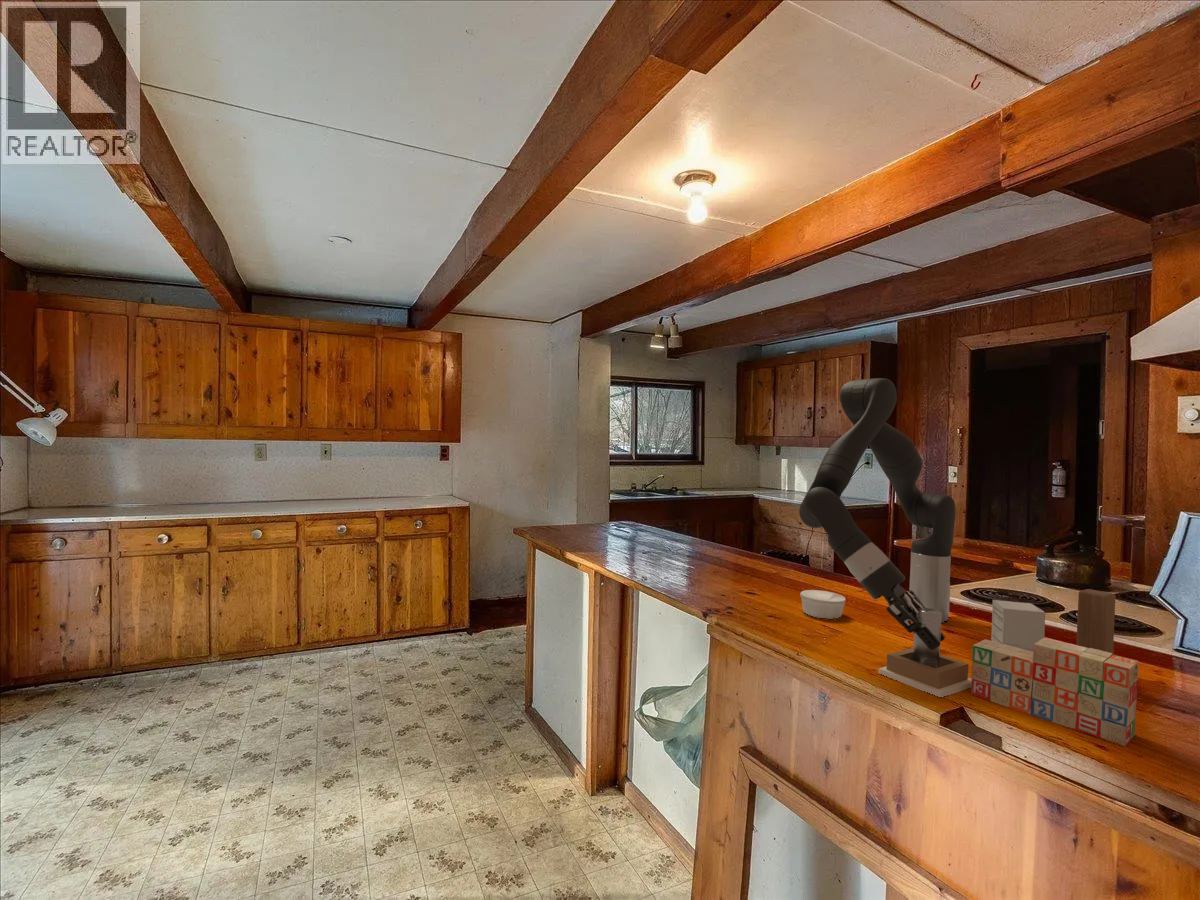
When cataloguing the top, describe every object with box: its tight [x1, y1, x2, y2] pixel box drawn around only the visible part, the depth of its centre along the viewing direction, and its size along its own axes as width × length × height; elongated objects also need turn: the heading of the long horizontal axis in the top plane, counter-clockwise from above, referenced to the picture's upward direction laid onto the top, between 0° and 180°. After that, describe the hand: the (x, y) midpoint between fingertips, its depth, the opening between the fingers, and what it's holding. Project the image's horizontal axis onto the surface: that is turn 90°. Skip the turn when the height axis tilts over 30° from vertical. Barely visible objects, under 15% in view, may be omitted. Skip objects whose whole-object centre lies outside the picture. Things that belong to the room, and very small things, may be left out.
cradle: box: [878, 646, 972, 698], centre depth 110 cm, size 12×12×4 cm
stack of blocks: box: [970, 637, 1139, 747], centre depth 97 cm, size 21×6×12 cm, turn 37°
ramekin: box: [799, 589, 846, 620], centre depth 152 cm, size 11×11×5 cm
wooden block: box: [1075, 588, 1117, 655], centre depth 112 cm, size 9×4×18 cm, turn 121°
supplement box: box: [990, 599, 1046, 652], centre depth 119 cm, size 7×7×13 cm
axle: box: [912, 608, 942, 668], centre depth 110 cm, size 4×4×11 cm
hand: (938, 643), depth 109 cm, fingers closed on axle, 4 cm apart
